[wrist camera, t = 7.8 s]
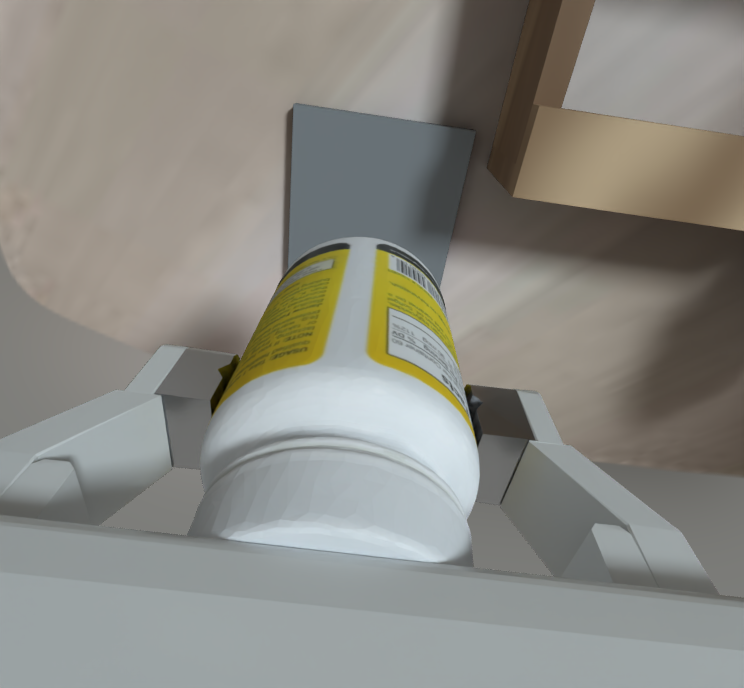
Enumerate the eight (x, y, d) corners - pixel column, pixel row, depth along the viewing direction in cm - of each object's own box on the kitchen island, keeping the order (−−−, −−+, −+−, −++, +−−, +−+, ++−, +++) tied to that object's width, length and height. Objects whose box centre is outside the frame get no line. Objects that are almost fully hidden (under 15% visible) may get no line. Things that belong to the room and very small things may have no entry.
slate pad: (473, 130, 20) (476, 131, 20) (436, 290, 24) (437, 295, 24) (295, 103, 20) (293, 104, 19) (289, 270, 24) (287, 274, 24)
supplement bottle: (277, 372, 14) (156, 691, 7) (275, 222, 11) (81, 480, 4) (430, 388, 14) (467, 720, 7) (461, 243, 12) (569, 530, 4)
